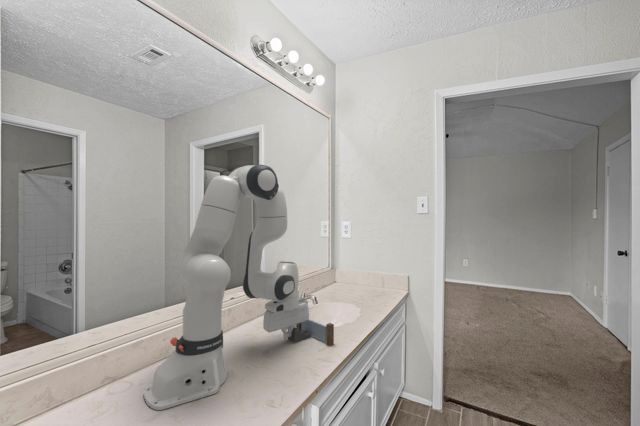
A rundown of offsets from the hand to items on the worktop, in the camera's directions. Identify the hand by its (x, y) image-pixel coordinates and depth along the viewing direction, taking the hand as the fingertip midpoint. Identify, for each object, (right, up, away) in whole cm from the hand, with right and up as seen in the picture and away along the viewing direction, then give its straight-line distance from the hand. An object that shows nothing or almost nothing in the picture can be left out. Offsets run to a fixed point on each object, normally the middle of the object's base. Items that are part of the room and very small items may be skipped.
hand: (287, 337), depth 117 cm
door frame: (+11, -2, +4) cm, 12 cm away
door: (+11, -2, +5) cm, 12 cm away
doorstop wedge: (+4, -2, +4) cm, 6 cm away
